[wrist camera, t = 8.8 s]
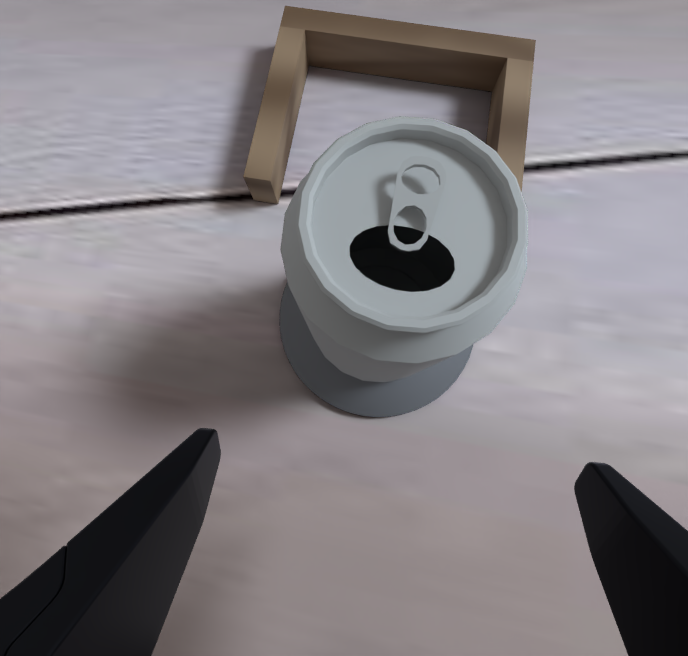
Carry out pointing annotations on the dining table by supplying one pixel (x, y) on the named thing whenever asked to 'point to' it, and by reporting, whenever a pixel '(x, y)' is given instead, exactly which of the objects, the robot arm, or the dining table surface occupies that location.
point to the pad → (351, 390)
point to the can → (404, 246)
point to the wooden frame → (390, 61)
